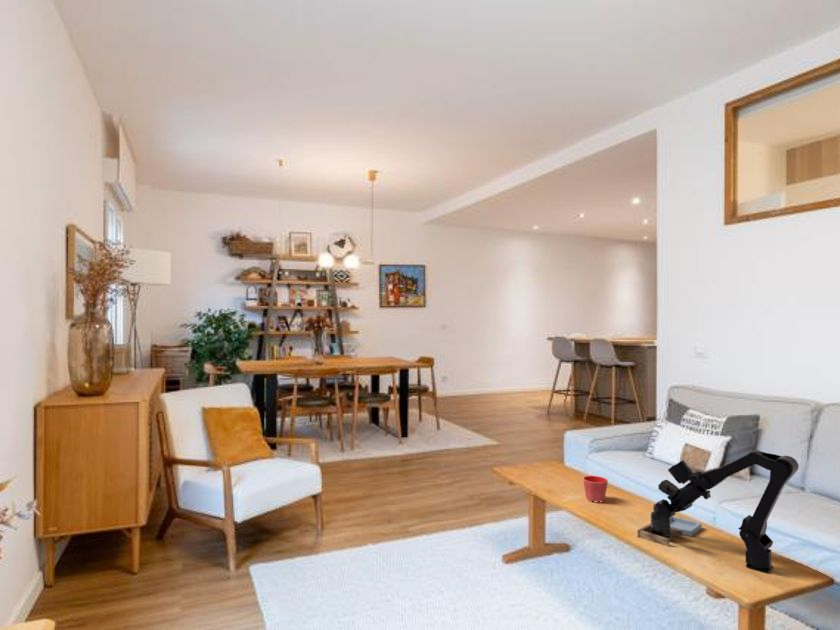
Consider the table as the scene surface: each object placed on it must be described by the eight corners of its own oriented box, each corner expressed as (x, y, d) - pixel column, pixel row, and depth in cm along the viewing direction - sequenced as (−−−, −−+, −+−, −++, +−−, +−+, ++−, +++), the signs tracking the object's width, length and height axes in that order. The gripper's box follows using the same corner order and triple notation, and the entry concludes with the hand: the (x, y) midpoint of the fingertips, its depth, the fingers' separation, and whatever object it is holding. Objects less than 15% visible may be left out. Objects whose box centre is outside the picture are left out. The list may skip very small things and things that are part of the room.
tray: (701, 528, 211) (701, 523, 211) (690, 537, 203) (690, 531, 203) (670, 520, 220) (670, 515, 220) (658, 528, 211) (658, 523, 211)
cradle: (682, 537, 203) (682, 530, 203) (667, 546, 195) (667, 539, 195) (652, 528, 211) (652, 522, 211) (637, 536, 204) (637, 530, 204)
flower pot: (602, 496, 251) (602, 475, 251) (611, 504, 240) (611, 482, 240) (580, 496, 251) (579, 475, 251) (588, 504, 240) (587, 482, 240)
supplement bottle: (646, 535, 205) (646, 503, 205) (660, 532, 207) (660, 501, 208) (660, 542, 199) (660, 509, 199) (674, 539, 201) (674, 507, 201)
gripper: (683, 470, 206) (655, 492, 214) (661, 479, 194) (632, 502, 202) (705, 496, 200) (675, 517, 208) (683, 507, 187) (652, 529, 196)
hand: (658, 515), depth 204 cm, fingers open, 9 cm apart
